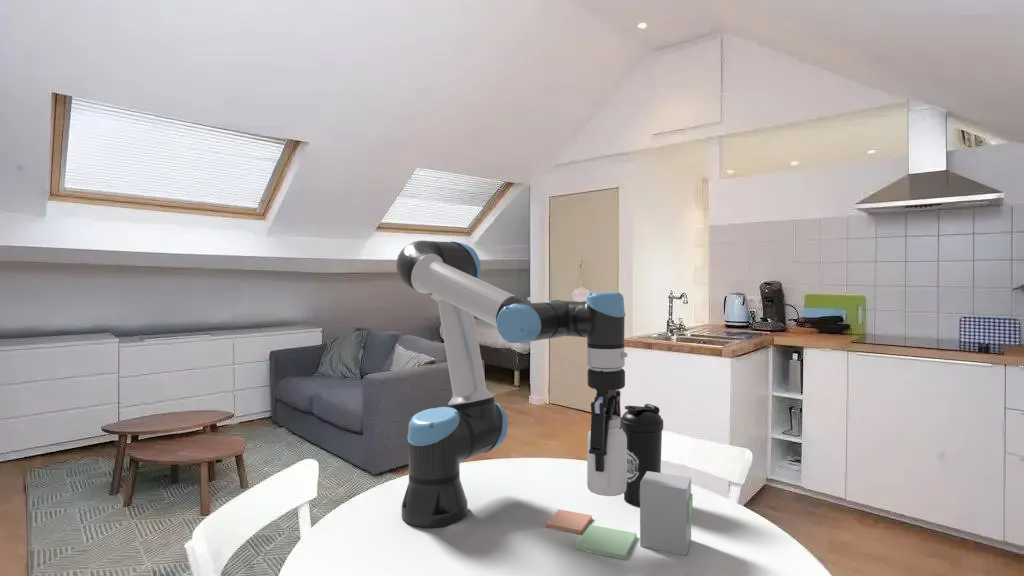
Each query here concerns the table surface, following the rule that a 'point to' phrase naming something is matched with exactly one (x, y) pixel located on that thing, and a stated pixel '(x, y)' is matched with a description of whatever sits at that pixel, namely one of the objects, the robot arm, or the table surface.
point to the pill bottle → (611, 461)
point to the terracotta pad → (569, 521)
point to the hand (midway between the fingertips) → (606, 479)
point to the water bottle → (641, 446)
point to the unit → (665, 512)
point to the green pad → (606, 541)
